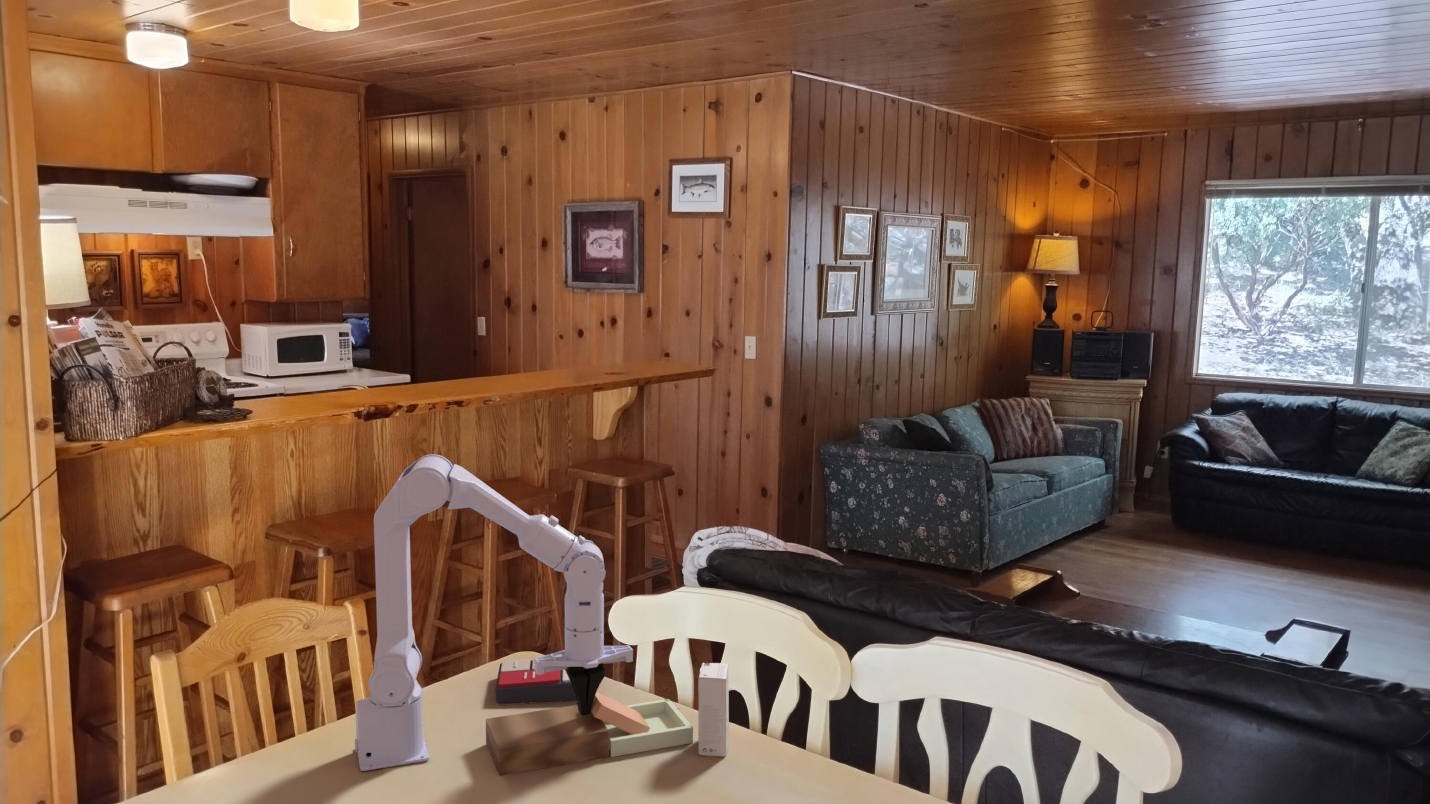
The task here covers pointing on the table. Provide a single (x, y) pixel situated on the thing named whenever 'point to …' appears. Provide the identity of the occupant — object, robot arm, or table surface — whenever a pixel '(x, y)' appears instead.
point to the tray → (652, 729)
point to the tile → (618, 715)
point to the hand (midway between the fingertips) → (584, 712)
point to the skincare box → (713, 709)
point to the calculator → (531, 684)
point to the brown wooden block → (545, 739)
